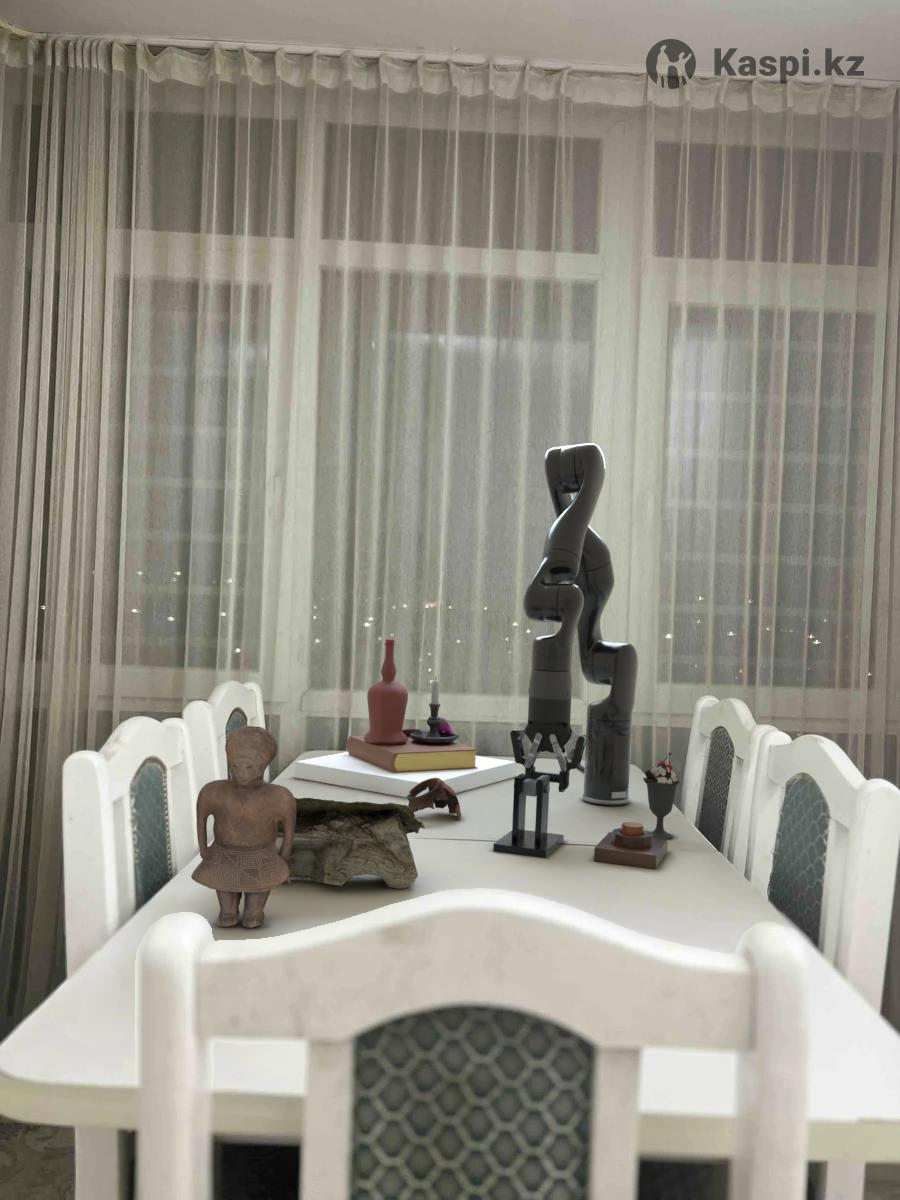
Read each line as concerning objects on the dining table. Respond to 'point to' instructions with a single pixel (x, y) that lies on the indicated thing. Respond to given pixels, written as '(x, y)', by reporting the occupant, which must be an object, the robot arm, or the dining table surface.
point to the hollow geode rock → (352, 841)
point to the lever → (531, 784)
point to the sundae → (661, 794)
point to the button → (632, 828)
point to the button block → (631, 849)
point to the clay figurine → (245, 829)
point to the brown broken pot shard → (434, 796)
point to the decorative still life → (403, 748)
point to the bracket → (539, 839)
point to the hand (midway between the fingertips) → (546, 789)
